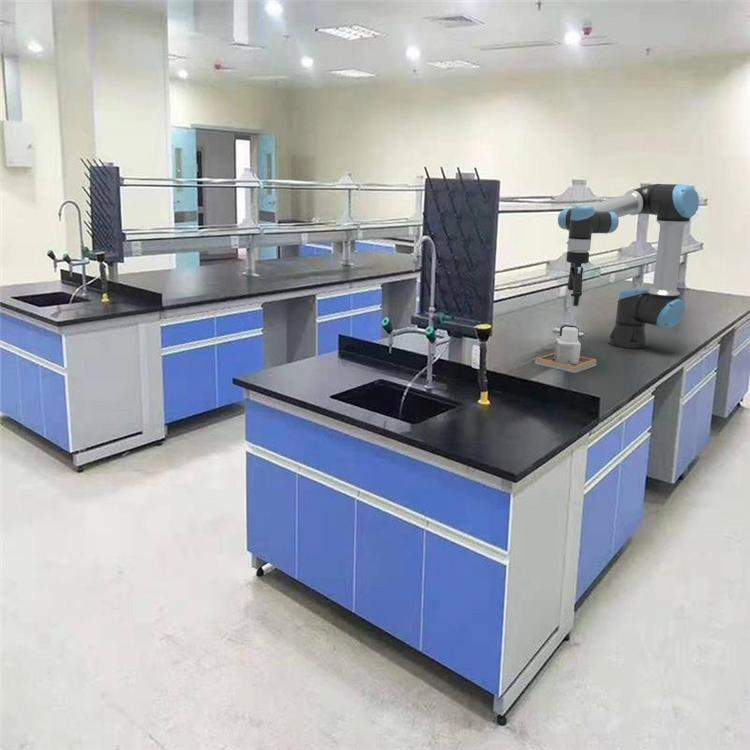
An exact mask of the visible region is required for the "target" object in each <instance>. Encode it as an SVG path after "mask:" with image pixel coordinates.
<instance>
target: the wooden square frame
mask: <svg viewBox="0 0 750 750" xmlns="http://www.w3.org/2000/svg"><path fill="white" fill-rule="evenodd" d="M554 353H555V352H552V353H549V354H545V355H543V356H539V357H536V358H535V361H534V364H535V365H538V366H542V367H546V368H547V367H548V368H551V369H556V370H559V371H560V370H561V371H564V372H568V373H573V374H576V373H579V372H582V371H585V370H587V369H588V370H589V369H591V368H593V367H596V366H597V359H595V358H589V357H585V356H579V364H564V363H560V362H556V360H555V359H554Z"/></svg>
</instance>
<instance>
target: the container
mask: <svg viewBox="0 0 750 750" xmlns="http://www.w3.org/2000/svg"><path fill="white" fill-rule="evenodd" d="M579 333H580V328H579V327H577V326H575V325H562V326H561V327H560V329H559V338H558V337H556V338H555V347H554V352H553V353H554V359H555V360H556V362H560V363H564V364H579V356H580V355H581V354H580V353H581V348H582V347H581V346H582V343H581V342H580V341H579V335H580V334H579Z"/></svg>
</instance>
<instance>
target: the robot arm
mask: <svg viewBox="0 0 750 750" xmlns="http://www.w3.org/2000/svg"><path fill="white" fill-rule="evenodd" d="M698 194H699V193H698V191H697V190H696V189H695V188H694V187H693V186H691V185H689V184H682V183H679V184H677V183H676V184H675V183H673V184H672V183H671V184H670V183H668V184H667V183H653V184H648V185H644V186H640V187H638V188H634V189H630V190H628V191H627V192H625V194H623V195H619V196H616V197H613V198H610V199H609V198H608V199H605V200H603V201H599V202H596V203H595V202H594V203H593V204H589V205H573V206H572V208H564V209H562V210H561V211H560V212H559V213H558V216H557V224H558V226H559V228H560V229H562V230H566V231H569V233H568V240H567V241H566V244H567V250H568V251H567V252H566V260H565V261H566V262H567V263H569V264H570V267H569V275H568V279H567V280H568V281H567V285H566V286H567V294H566V303H565V304H566V305H565V308H566V309H570V313H569V314H570V316H579V314H580V313H579V312H580V307H581V306H580V303H581V296H582V295H583V291H582V290H583V272H584V267H582V264H585V265H586V264H588V263H589V259H590V251H591V245H592V244H591V243H592V234H605V235H607V234H611V233H612V234H613V233H614V232H615V231H616V230H617V229H618V228H619V224H620V223H619V221H620V219H619V218H621V217H625V216H628V215H630V216H636V215H652V216H653V215H654V216H656V223H658V224H659V232H658V233H659V234H658V241H657V248H656V249H657V250H656V258H655V265H654V272H653V274H654V275H653V282H652V287H651V288H650V289H648V288H647V289H646V288H645V289H644V288H643V289H640V288H637V289H636V288H635V289H622V290H621V291H620V292H619V295H618V299H617V307H616V313H615V315H616V317H615V324H614V326H613V329H612V330H611V333H610V335H609V337H608V342H609V343H610V344H609V343H608V344H609V345H611V344H612V346H614V345H615V347H618V346H619V348H623V347H625V349H636V348H637V349H645V348H647V346H648V337H647V333H646V324H647V325H651V326H656V327H658V328H667V329H668V328H669V329H671V328H673V327H675V326H676V325H678V324H679V322H680V321H681V320H682V319H683V316H684V313H685V310H686V309H685V308H686V307H685V306H686V305H685V304H684V301H683V300H682V299H680V295H681V293H680V292H679V291H678V289H677V288H678V287H677V285H678V279H679V277H678V276H679V270H680V263H681V255H682V247H683V241H684V240H683V238H684V231H685V227H686V225H688V224H689V223H690V222H691V218H693V217H694V216H695V215H696V213H697V211H698V210H699V205H700V197H699V195H698Z"/></svg>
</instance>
